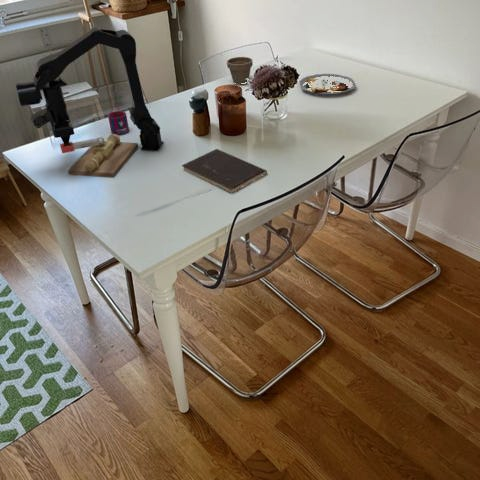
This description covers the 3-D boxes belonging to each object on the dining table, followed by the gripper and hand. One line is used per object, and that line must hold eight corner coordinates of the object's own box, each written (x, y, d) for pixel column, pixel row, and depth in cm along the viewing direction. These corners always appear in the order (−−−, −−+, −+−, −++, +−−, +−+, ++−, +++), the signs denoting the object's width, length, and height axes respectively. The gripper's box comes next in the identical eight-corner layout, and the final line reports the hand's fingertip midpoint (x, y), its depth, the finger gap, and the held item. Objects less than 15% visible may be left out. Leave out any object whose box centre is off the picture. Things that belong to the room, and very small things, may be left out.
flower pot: (226, 79, 236) (225, 57, 230) (251, 77, 237) (250, 55, 231) (229, 88, 227) (227, 65, 221) (254, 86, 228) (254, 63, 222)
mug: (114, 136, 192) (111, 119, 188) (106, 127, 199) (102, 110, 195) (131, 132, 194) (128, 115, 190) (122, 123, 201) (119, 106, 197)
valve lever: (104, 141, 175) (103, 135, 173) (105, 145, 173) (104, 139, 171) (61, 149, 171) (59, 143, 170) (62, 153, 169) (60, 147, 168)
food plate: (359, 97, 212) (359, 88, 210) (302, 99, 213) (302, 91, 211) (349, 77, 233) (349, 70, 231) (297, 80, 234) (297, 72, 232)
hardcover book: (231, 195, 156) (230, 189, 154) (182, 171, 169) (182, 165, 168) (267, 175, 164) (267, 169, 163) (218, 154, 178) (217, 148, 177)
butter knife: (219, 188, 158) (214, 184, 160) (138, 219, 147) (133, 214, 149) (219, 190, 158) (214, 186, 160) (138, 220, 147) (134, 215, 149)
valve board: (138, 146, 184) (135, 130, 180) (113, 177, 167) (110, 160, 163) (97, 144, 187) (93, 128, 183) (68, 174, 170) (64, 157, 166)
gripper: (26, 94, 167) (39, 138, 176) (30, 116, 153) (44, 162, 163) (61, 89, 170) (72, 132, 180) (68, 109, 156) (79, 155, 166)
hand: (66, 145), depth 172 cm, fingers closed
